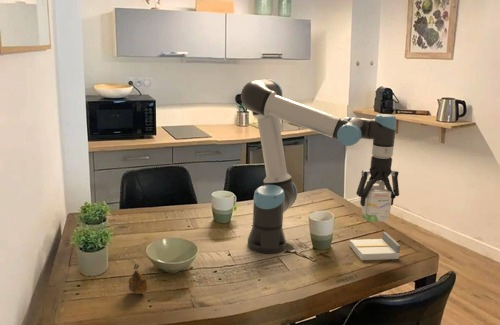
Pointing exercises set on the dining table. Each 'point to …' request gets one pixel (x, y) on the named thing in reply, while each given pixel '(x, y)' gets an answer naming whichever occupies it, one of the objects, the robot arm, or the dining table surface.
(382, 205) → the ink box
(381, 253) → the dock
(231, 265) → the dining table surface
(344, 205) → the dining table surface
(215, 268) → the dining table surface
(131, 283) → the brown pointed lump
